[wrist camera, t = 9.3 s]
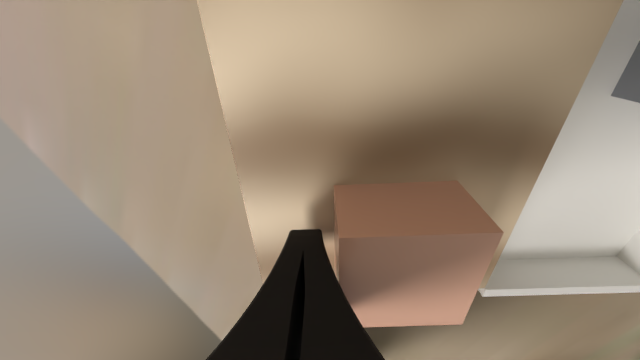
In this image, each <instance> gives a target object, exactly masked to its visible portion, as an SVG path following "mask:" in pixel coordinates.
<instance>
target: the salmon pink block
mask: <svg viewBox="0 0 640 360" xmlns="http://www.w3.org/2000/svg"><path fill="white" fill-rule="evenodd" d="M503 234H504V232H503V231H502V230H501V229H500V227H499V226H498V225H497V224H496V223H495V222H494V221H493V220H492V219H491V217H490V216H489V215H488V214H487V213H486V212H485V211H484V210H483V209H482V207H481V206H480V205H479V204H478V203H477V202H476V201H475V200H474V198H473V197H472V196H471V195H470V194H469V193H468V192H467V191H466V190H465V188H464V187H463V186H462V185H461V184H460V183H459V182H458V181H434V182H407V183H380V184H353V185H334V264H335V275H336V278H337V280H338V282H339V284H340V286H341V288H342V290H343V292H344V294H345V296H346V298H347V300H348V302H349V304H350V306H351V307H352V309H353V311H354V313H355V314H356V316H357V318H358V319H359V321H360V323H361V324H362V326H363V327H394V326H426V325H458V324H463V322H464V319H465V317H466V315H467V313H468V311H469V308H470V306H471V304H472V302H473V300H474V297H475V295H476V293H477V291H478V289H479V286H480V284H481V282H482V280H483V278H484V275H485V273H486V271H487V269H488V267H489V264H490V262H491V260H492V258H493V256H494V253H495V251H496V249H497V247H498V245H499V242H500V240H501V238H502V236H503Z"/></svg>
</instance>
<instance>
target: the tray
mask: <svg viewBox="0 0 640 360" xmlns="http://www.w3.org/2000/svg"><path fill="white" fill-rule="evenodd" d="M639 41H640V0H624V1H623V3H622V5H621V7H620V9H619V11H618V13H617V15H616V17H615V19H614V21H613V23H612V25H611V27H610V30H609V32H608V34H607V36H606V38H605V40H604V42H603V44H602V46H601V48H600V50H599V52H598V54H597V56H596V59H595V61H594V63H593V65H592V67H591V69H590V71H589V73H588V75H587V77H586V79H585V81H584V83H583V86H582V88H581V90H580V92H579V94H578V96H577V98H576V100H575V102H574V104H573V106H572V108H571V110H570V112H569V115H568V117H567V119H566V121H565V123H564V125H563V127H562V129H561V131H560V133H559V135H558V137H557V139H556V141H555V144H554V146H553V148H552V150H551V152H550V154H549V156H548V158H547V160H546V162H545V164H544V166H543V168H542V171H541V173H540V175H539V177H538V179H537V181H536V183H535V185H534V187H533V189H532V191H531V193H530V195H529V197H528V200H527V202H526V204H525V206H524V208H523V210H522V212H521V214H520V216H519V218H518V220H517V222H516V224H515V226H514V229H513V231H512V233H511V235H510V237H509V239H508V241H507V243H506V245H505V247H504V249H503V251H502V253H501V255H500V258H499V260H498V262H497V264H496V266H495V268H494V270H493V272H492V274H491V276H490V278H489V280H488V282H487V285H486V287H485V288H479V289H478V290H479V292H480V294H481V295H482V297H489V296H524V295H559V294H594V293H629V292H640V103H638V102H634V101H630V100H626V99H622V98H617V97H613V96H611V94H612V92H613V90H614V88H615V87H616V85H617V83H618V81H619V79H620V77H621V75H622V73H623V71H624V69H625V68H626V66H627V64H628V62H629V60H630V58H631V56H632V54H633V52H634V50H635V48H636V47H637V45H638V43H639Z"/></svg>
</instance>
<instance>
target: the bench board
mask: <svg viewBox="0 0 640 360" xmlns="http://www.w3.org/2000/svg"><path fill="white" fill-rule="evenodd" d="M623 1H624V0H197V4H198V8H199V12H200V16H201V21H202V25H203V29H204V34H205V38H206V42H207V46H208V51H209V55H210V59H211V64H212V68H213V72H214V76H215V81H216V85H217V89H218V94H219V98H220V102H221V106H222V111H223V115H224V119H225V124H226V128H227V132H228V136H229V141H230V145H231V149H232V154H233V158H234V162H235V166H236V171H237V175H238V179H239V184H240V188H241V192H242V196H243V201H244V205H245V209H246V214H247V218H248V222H249V226H250V231H251V235H252V239H253V244H254V248H255V252H256V256H257V261H258V265H259V269H260V274H261V278H262V282H263V284H264V282H265V280H266V279H267V277H268V275H269V274H270V272H271V270H272V268H273V266H274V265H275V263H276V261H277V259H278V257H279V255H280V253H281V251H282V249H283V247H284V244H285V242H286V240H287V237H288V235H289V232H290V231H291V230H303V229H320V230H321V231H322V236H323V241H324V245H325V249H326V252H327V255H328V258H329V261H330V263H331V266H332V268H333V271H334V273H335V264H334V185H353V184H380V183H407V182H434V181H458V182H459V183H460V184H461V185H462V186H463V187H464V188H465V190H466V191H467V192H468V193H469V194H470V195H471V196H472V197H473V198H474V200H475V201H476V202H477V203H478V204H479V205H480V206H481V207H482V209H483V210H484V211H485V212H486V213H487V214H488V215H489V216H490V217H491V219H492V220H493V221H494V222H495V223H496V224H497V225H498V226H499V227H500V229H501V230H502V231H503V232H504V234H503V236H502V238H501V240H500V242H499V245H498V247H497V249H496V251H495V253H494V256H493V258H492V260H491V262H490V264H489V267H488V269H487V271H486V273H485V275H484V278H483V280H482V282H481V284H480V286H479V288H485V287H486V285H487V282H488V280H489V278H490V276H491V274H492V272H493V270H494V268H495V266H496V264H497V262H498V260H499V258H500V255H501V253H502V251H503V249H504V247H505V245H506V243H507V241H508V239H509V237H510V235H511V233H512V231H513V229H514V226H515V224H516V222H517V220H518V218H519V216H520V214H521V212H522V210H523V208H524V206H525V204H526V202H527V200H528V197H529V195H530V193H531V191H532V189H533V187H534V185H535V183H536V181H537V179H538V177H539V175H540V173H541V171H542V168H543V166H544V164H545V162H546V160H547V158H548V156H549V154H550V152H551V150H552V148H553V146H554V144H555V141H556V139H557V137H558V135H559V133H560V131H561V129H562V127H563V125H564V123H565V121H566V119H567V117H568V115H569V112H570V110H571V108H572V106H573V104H574V102H575V100H576V98H577V96H578V94H579V92H580V90H581V88H582V86H583V83H584V81H585V79H586V77H587V75H588V73H589V71H590V69H591V67H592V65H593V63H594V61H595V59H596V56H597V54H598V52H599V50H600V48H601V46H602V44H603V42H604V40H605V38H606V36H607V34H608V32H609V30H610V27H611V25H612V23H613V21H614V19H615V17H616V15H617V13H618V11H619V9H620V7H621V5H622V3H623Z"/></svg>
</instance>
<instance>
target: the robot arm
mask: <svg viewBox="0 0 640 360" xmlns="http://www.w3.org/2000/svg"><path fill="white" fill-rule="evenodd" d="M206 360H385V359H384V358H383V356H382V355H381V353H380V352H379V350H378V349H377V347H376V346H375V344H374V343H373V341H372V340H371V338H370V337H369V335H368V334H367V332H366V331H365V329H364V328H363V326H362V324H361V323H360V321H359V319H358V318H357V316H356V314H355V313H354V311H353V309H352V307H351V306H350V304H349V302H348V300H347V298H346V296H345V294H344V292H343V290H342V288H341V286H340V284H339V282H338V280H337V278H336V275H335V273H334V271H333V268H332V266H331V263H330V261H329V258H328V255H327V252H326V249H325V245H324V241H323V236H322V231H321V230H320V229H303V230H291V231H290V232H289V235H288V237H287V240H286V242H285V244H284V247H283V249H282V251H281V253H280V255H279V257H278V259H277V261H276V263H275V265H274V266H273V268H272V270H271V272H270V274H269V275H268V277H267V279H266V280H265V282H264V284H263V285H262V287H261V288H260V290H259V292H258V293H257V295H256V296H255V298H254V299H253V301H252V302H251V304H250V305H249V307H248V308H247V309H246V311H245V312H244V313H243V315H242V316H241V318H240V319H239V320H238V321H237V323H236V324H235V325H234V327H233V328H232V329H231V330H230V332H229V333H228V334H227V336H226V337H225V338H224V339H223V340H222V342H221V343H220V344H219V345H218V347H217V348H216V349H215V350H214V351H213V352H212V353H211V355H209V357H208V358H207V359H206Z"/></svg>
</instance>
